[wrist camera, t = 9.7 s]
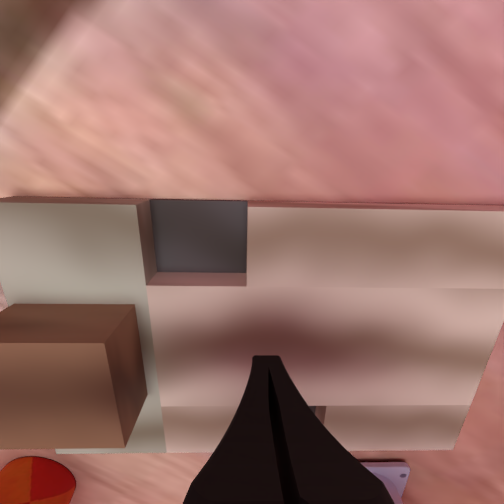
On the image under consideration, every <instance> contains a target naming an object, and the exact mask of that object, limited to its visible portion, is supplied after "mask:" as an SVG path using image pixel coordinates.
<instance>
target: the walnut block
mask: <svg viewBox="0 0 504 504" xmlns="http://www.w3.org/2000/svg"><path fill="white" fill-rule="evenodd" d="M147 395H148V393H147V386H146V379H145V372H144V365H143V358H142V351H141V344H140V337H139V330H138V323H137V316H136V309H135V304H12V305H11V306H9V307H8V308H6V309H4V310H3V311H1V312H0V449H87V448H125V447H126V445H127V442H128V440H129V438H130V435H131V433H132V431H133V428H134V426H135V424H136V421H137V419H138V416H139V414H140V412H141V409H142V407H143V405H144V402H145V400H146V398H147Z"/></svg>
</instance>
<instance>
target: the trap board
mask: <svg viewBox="0 0 504 504" xmlns="http://www.w3.org/2000/svg"><path fill="white" fill-rule="evenodd" d="M0 282H1V285H2V288H3V291H4V295H5V298H6V301H7V304H8V307H9V306H11V305H12V304H135V309H136V316H137V323H138V330H139V337H140V344H141V351H142V358H143V365H144V372H145V379H146V386H147V393H148V395H147V398H146V400H145V402H144V405H143V407H142V409H141V412H140V414H139V416H138V419H137V421H136V424H135V426H134V428H133V431H132V433H131V435H130V438H129V440H128V442H127V445H126V447H125V448H87V449H55V451H56V454H104V453H203V452H214V451H215V449H216V447H217V446H218V444H219V443H220V441H221V439H222V438H223V436H224V434H225V432H226V431H227V429H228V427H229V425H230V423H231V421H232V419H233V417H234V415H235V413H236V411H237V409H238V406H239V404H240V402H241V399H242V396H243V394H244V391H245V388H246V385H247V382H248V379H249V375H250V371H251V367H252V357H253V356H254V355H279V356H280V357H281V360H282V362H283V364H284V366H285V368H286V370H287V372H288V374H289V376H290V378H291V379H292V381H293V383H294V384H295V386H296V388H297V389H298V391H299V393H300V394H301V396H302V397H303V399H304V400H305V401H306V403H307V404H308V406H309V407H310V409H311V410H312V411H313V413H314V414H315V415H316V416H317V418H318V419H319V420H320V421H321V423H322V424H323V425H324V426H325V427H326V428H327V430H328V431H329V432H330V433H331V434H332V435H333V436H334V437H335V438H336V439H337V440H338V441H339V443H340V444H341V445H342V446H343V447H344V448H345V449H346V450H347V451H400V450H453V449H454V446H455V443H456V441H457V438H458V436H459V433H460V431H461V428H462V426H463V423H464V421H465V418H466V416H467V413H468V411H469V408H470V405H471V403H472V400H473V398H474V395H475V393H476V390H477V388H478V385H479V383H480V380H481V378H482V375H483V372H484V370H485V367H486V365H487V362H488V360H489V357H490V355H491V352H492V350H493V347H494V345H495V342H496V340H497V337H498V334H499V332H500V329H501V327H502V324H503V322H504V205H451V204H397V203H342V202H288V201H233V200H179V199H125V198H70V197H16V196H13V197H6V198H0Z"/></svg>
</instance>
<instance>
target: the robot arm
mask: <svg viewBox="0 0 504 504" xmlns="http://www.w3.org/2000/svg"><path fill="white" fill-rule="evenodd" d="M409 473H410V467H409V466H408V464H407V463H405V462H359V461H358V460H357V459H356V458H354V457H353V456H352V455H351V454H350V453H349V452H348V451H347V450H346V449H345V448H344V447H343V446H342V445H341V444H340V443H339V441H338V440H337V439H336V438H335V437H334V436H333V435H332V434H331V433H330V432H329V431H328V430H327V428H326V427H325V426H324V425H323V424H322V423H321V421H320V420H319V419H318V418H317V416H316V415H315V414H314V413H313V411H312V410H311V409H310V407H309V406H308V404H307V403H306V401H305V400H304V399H303V397H302V396H301V394H300V393H299V391H298V389H297V388H296V386H295V384H294V383H293V381H292V379H291V378H290V376H289V374H288V372H287V370H286V368H285V366H284V364H283V362H282V360H281V357H280V356H279V355H254V356H253V357H252V367H251V371H250V375H249V379H248V382H247V385H246V388H245V391H244V394H243V396H242V399H241V402H240V404H239V406H238V409H237V411H236V413H235V415H234V417H233V419H232V421H231V423H230V425H229V427H228V429H227V431H226V432H225V434H224V436H223V438H222V439H221V441H220V443H219V444H218V446H217V447H216V449H215V451H214V452H213V454H212V455H211V457H210V458H209V460H208V461H207V463H206V464H205V465H204V467H203V468H202V470H201V471H200V472H199V474H198V475H197V476H196V478H195V479H194V480H193V482H192V483H191V485H190V488H189V490H188V492H187V495H186V497H185V499H184V502H183V504H403V502H402V500H401V498H402V495H403V491H404V488H405V485H406V482H407V479H408V476H409Z"/></svg>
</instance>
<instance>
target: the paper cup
mask: <svg viewBox="0 0 504 504" xmlns="http://www.w3.org/2000/svg"><path fill="white" fill-rule="evenodd" d="M75 487H76V481H75V478H74V476H73V475H72V473H71V472H70V471H69V470H68V469H67V468H66V467H64V466H63V465H61V464H59V463H57V462H55V461H53V460H50V459H46V458H42V457H22V458H18V459H15V460H13V461H11V462H10V463H8V464H7V465H6V466H5V467H4V468H3V469H2V470H1V471H0V504H69V503H70V500H71V498H72V496H73V493H74V490H75Z"/></svg>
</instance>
